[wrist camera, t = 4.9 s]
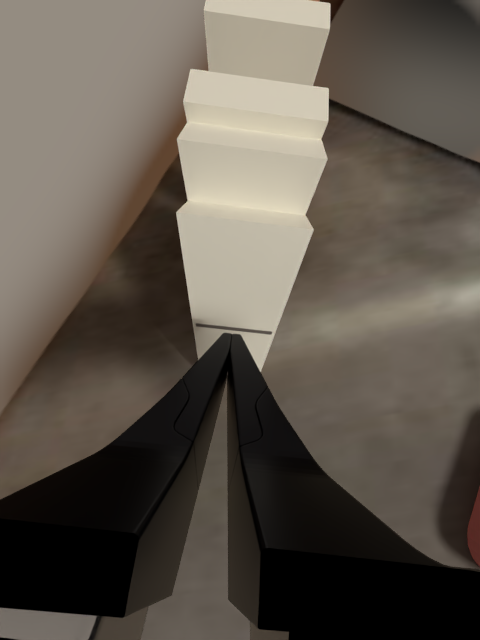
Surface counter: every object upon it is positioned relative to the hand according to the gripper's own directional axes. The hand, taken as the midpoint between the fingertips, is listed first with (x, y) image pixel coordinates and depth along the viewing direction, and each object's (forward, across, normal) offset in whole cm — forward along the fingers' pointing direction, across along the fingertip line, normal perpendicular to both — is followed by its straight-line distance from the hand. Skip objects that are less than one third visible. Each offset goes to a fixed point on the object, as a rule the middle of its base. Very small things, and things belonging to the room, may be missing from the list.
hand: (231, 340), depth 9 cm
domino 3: (+11, 0, 0) cm, 11 cm away
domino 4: (+15, 0, -4) cm, 15 cm away
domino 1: (+4, 0, +6) cm, 8 cm away
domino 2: (+8, 0, +3) cm, 8 cm away
